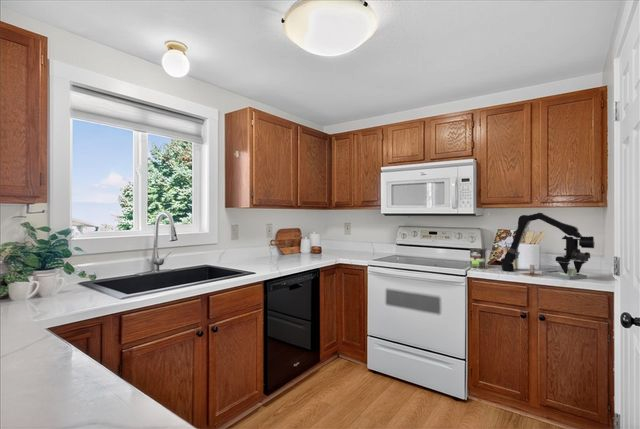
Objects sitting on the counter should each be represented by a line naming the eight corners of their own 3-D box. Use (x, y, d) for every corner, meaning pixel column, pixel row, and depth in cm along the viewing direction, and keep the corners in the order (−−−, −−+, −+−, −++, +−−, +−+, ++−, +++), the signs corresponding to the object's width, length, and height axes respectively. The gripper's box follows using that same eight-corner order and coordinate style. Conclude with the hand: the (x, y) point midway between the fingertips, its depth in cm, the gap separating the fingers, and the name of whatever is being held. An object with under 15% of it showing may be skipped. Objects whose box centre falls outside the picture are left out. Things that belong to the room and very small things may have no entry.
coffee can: (482, 270, 227) (482, 250, 227) (467, 268, 235) (467, 248, 235) (488, 268, 234) (488, 249, 234) (473, 266, 242) (473, 247, 242)
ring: (548, 275, 205) (548, 266, 205) (559, 274, 207) (559, 265, 207) (568, 279, 192) (568, 269, 192) (580, 278, 195) (580, 269, 195)
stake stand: (517, 275, 210) (517, 264, 210) (531, 274, 213) (531, 263, 213) (533, 278, 199) (533, 266, 199) (547, 277, 202) (547, 266, 202)
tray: (541, 276, 207) (541, 271, 207) (558, 274, 210) (558, 270, 210) (569, 281, 190) (569, 276, 190) (587, 280, 193) (587, 275, 193)
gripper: (573, 249, 185) (573, 276, 185) (598, 248, 190) (597, 274, 190) (554, 247, 196) (554, 273, 196) (578, 246, 201) (578, 271, 201)
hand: (571, 273), depth 195 cm, fingers open, 9 cm apart
